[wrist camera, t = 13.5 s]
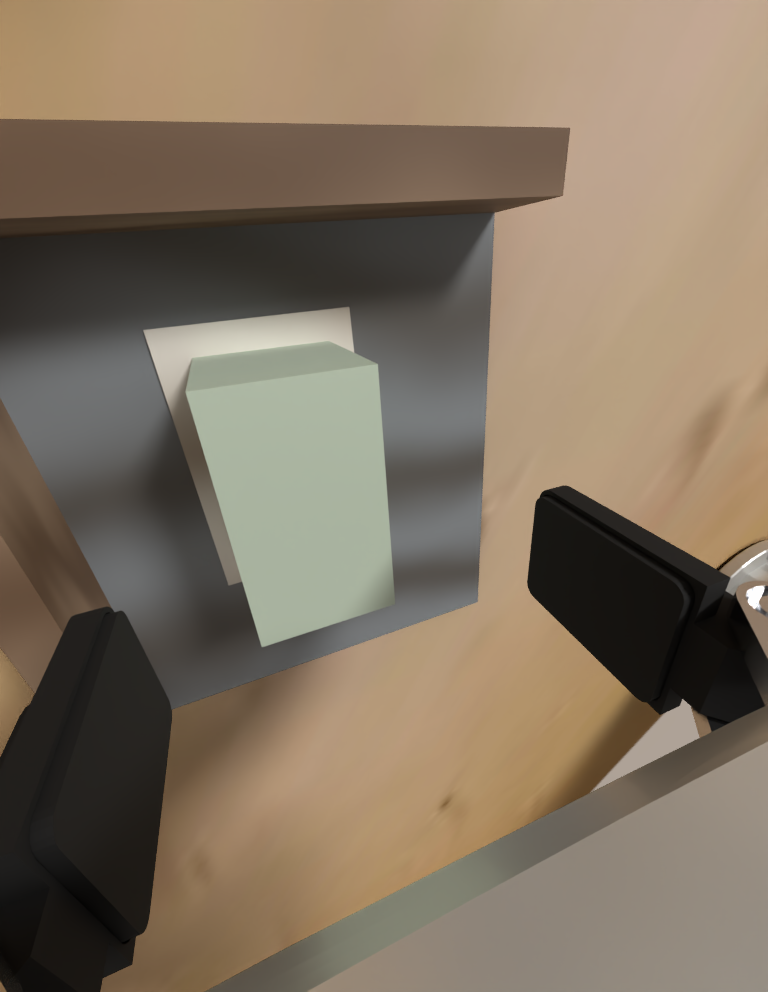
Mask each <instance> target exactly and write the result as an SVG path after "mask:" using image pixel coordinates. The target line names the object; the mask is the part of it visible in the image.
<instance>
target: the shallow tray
mask: <svg viewBox="0 0 768 992" xmlns="http://www.w3.org/2000/svg"><path fill="white" fill-rule="evenodd" d="M569 134H570V128H550V127H485V126H419V125H354V124H289V123H224V122H159V121H94V120H29V119H0V648H1V649H2V651H3V652H4V653H5V655H6V656H7V657H8V659H9V660H10V661H11V663H12V664H13V665H14V667H15V668H16V669H17V671H18V672H19V673H20V674H21V676H22V677H23V678H24V680H25V681H26V682H27V684H28V685H29V686H30V688H31V689H32V690H33V692H34V693H36V690H37V688H38V686H39V684H40V682H41V680H42V677H43V675H44V673H45V671H46V669H47V667H48V664H49V662H50V660H51V658H52V656H53V654H54V651H55V649H56V647H57V645H58V643H59V641H60V638H61V636H62V634H63V632H64V630H65V628H66V625H67V623H68V621H69V619H70V618H71V617H72V616H73V615H76V614H80V613H83V612H87V611H91V610H95V609H99V608H102V607H106V606H107V607H110V608H112V609H113V610H114V612H117V611H123V612H124V613H125V614H126V616H127V617H128V619H129V621H130V623H131V625H132V627H133V629H134V631H135V633H136V635H137V637H138V639H139V641H140V643H141V645H142V647H143V649H144V651H145V653H146V655H147V657H148V659H149V661H150V663H151V665H152V667H153V669H154V671H155V673H156V675H157V677H158V679H159V681H160V683H161V685H162V687H163V689H164V691H165V693H166V695H167V697H168V699H169V701H170V705H171V710H172V709H175V708H178V707H180V706H183V705H186V704H189V703H192V702H195V701H197V700H200V699H203V698H206V697H209V696H212V695H215V694H217V693H220V692H223V691H226V690H229V689H232V688H234V687H237V686H240V685H243V684H246V683H249V682H251V681H254V680H257V679H260V678H263V677H266V676H269V675H271V674H274V673H277V672H280V671H283V670H286V669H288V668H291V667H294V666H297V665H300V664H303V663H305V662H308V661H311V660H314V659H317V658H320V657H323V656H325V655H328V654H331V653H334V652H337V651H340V650H342V649H345V648H348V647H351V646H354V645H357V644H359V643H362V642H365V641H368V640H371V639H374V638H377V637H379V636H382V635H385V634H388V633H391V632H394V631H396V630H399V629H402V628H405V627H408V626H411V625H413V624H416V623H419V622H422V621H425V620H428V619H431V618H433V617H436V616H439V615H442V614H445V613H448V612H450V611H453V610H456V609H459V608H462V607H465V606H467V605H470V604H473V603H476V602H478V580H479V557H480V534H481V512H482V489H483V466H484V443H485V420H486V397H487V374H488V351H489V328H490V305H491V282H492V259H493V236H494V213H495V212H499V211H503V210H507V209H511V208H515V207H519V206H523V205H527V204H531V203H535V202H540V201H544V200H548V199H552V198H556V197H560V196H563V189H564V180H565V171H566V161H567V152H568V143H569ZM324 341H330V342H332V343H334V344H337V345H339V346H341V347H343V348H345V349H347V350H349V351H351V352H353V353H356V354H358V355H360V356H362V357H364V358H366V359H368V360H370V361H372V362H375V363H377V364H378V373H379V387H380V401H381V415H382V428H383V442H384V456H385V470H386V484H387V497H388V511H389V525H390V539H391V552H392V566H393V580H394V594H395V604H394V605H391V606H388V607H385V608H382V609H379V610H376V611H372V612H369V613H366V614H363V615H360V616H357V617H354V618H351V619H348V620H345V621H342V622H339V623H335V624H332V625H329V626H326V627H323V628H320V629H317V630H314V631H311V632H308V633H305V634H302V635H298V636H295V637H292V638H289V639H286V640H283V641H280V642H277V643H274V644H271V645H268V646H265V647H262V646H261V643H260V640H259V636H258V633H257V629H256V626H255V623H254V619H253V616H252V613H251V609H250V606H249V603H248V599H247V596H246V593H245V589H244V586H243V583H242V579H241V576H240V573H239V569H238V566H237V563H236V559H235V556H234V553H233V549H232V546H231V543H230V539H229V536H228V532H227V529H226V526H225V522H224V519H223V516H222V512H221V509H220V506H219V502H218V499H217V496H216V492H215V489H214V486H213V482H212V479H211V476H210V472H209V469H208V466H207V462H206V459H205V456H204V452H203V449H202V446H201V442H200V439H199V436H198V432H197V429H196V425H195V422H194V419H193V415H192V412H191V409H190V405H189V402H188V399H187V395H186V387H187V382H188V377H189V372H190V367H191V363H192V358H195V357H203V356H211V355H219V354H227V353H235V352H243V351H252V350H260V349H268V348H276V347H284V346H292V345H300V344H308V343H316V342H324Z"/></svg>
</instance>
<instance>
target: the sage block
mask: <svg viewBox="0 0 768 992" xmlns="http://www.w3.org/2000/svg"><path fill="white" fill-rule="evenodd" d="M186 395H187V399H188V402H189V405H190V409H191V412H192V415H193V419H194V422H195V425H196V429H197V432H198V436H199V439H200V442H201V446H202V449H203V452H204V456H205V459H206V462H207V466H208V469H209V472H210V476H211V479H212V482H213V486H214V489H215V492H216V496H217V499H218V502H219V506H220V509H221V512H222V516H223V519H224V522H225V526H226V529H227V532H228V536H229V539H230V543H231V546H232V549H233V553H234V556H235V559H236V563H237V566H238V569H239V573H240V576H241V579H242V583H243V586H244V589H245V593H246V596H247V599H248V603H249V606H250V609H251V613H252V616H253V619H254V623H255V626H256V629H257V633H258V636H259V640H260V643H261V646H262V647H265V646H268V645H271V644H274V643H277V642H280V641H283V640H286V639H289V638H292V637H295V636H298V635H302V634H305V633H308V632H311V631H314V630H317V629H320V628H323V627H326V626H329V625H332V624H335V623H339V622H342V621H345V620H348V619H351V618H354V617H357V616H360V615H363V614H366V613H369V612H372V611H376V610H379V609H382V608H385V607H388V606H391V605H394V604H395V594H394V580H393V566H392V552H391V539H390V525H389V511H388V497H387V484H386V470H385V456H384V442H383V428H382V415H381V401H380V387H379V373H378V364H377V363H375V362H372V361H370V360H368V359H366V358H364V357H362V356H360V355H358V354H356V353H353V352H351V351H349V350H347V349H345V348H343V347H341V346H339V345H337V344H334V343H332V342H330V341H324V342H316V343H308V344H300V345H292V346H284V347H276V348H268V349H260V350H252V351H243V352H235V353H227V354H219V355H211V356H203V357H195V358H192V363H191V367H190V372H189V377H188V382H187V387H186Z"/></svg>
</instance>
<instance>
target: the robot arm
mask: <svg viewBox="0 0 768 992" xmlns="http://www.w3.org/2000/svg"><path fill="white" fill-rule="evenodd" d="M527 584H528V588H529V591H530V593H531V594H532V596H533V597H534V598H535V599H536V600H537V601H538V602H539V603H540V604H541V605H542V606H543V607H544V608H545V609H546V610H547V611H548V612H550V613H551V614H552V615H553V616H554V617H555V618H556V619H557V620H558V621H559V622H560V623H561V624H562V625H563V626H564V627H565V628H566V629H567V630H568V631H569V632H570V633H571V634H572V635H573V636H574V637H575V638H576V639H577V640H578V641H579V642H580V643H581V644H582V645H583V646H584V647H585V648H586V649H587V650H588V651H589V652H590V653H591V654H592V655H593V656H594V657H595V658H596V659H597V660H598V661H599V662H600V663H601V664H602V665H603V666H604V667H606V668H607V669H608V670H609V671H610V672H611V673H612V674H613V675H614V676H615V677H616V678H617V679H618V680H619V681H620V682H621V683H622V684H623V685H624V686H625V687H626V688H627V689H628V690H629V691H630V692H631V693H632V694H633V695H634V696H635V697H636V698H638V699H639V700H641V701H642V702H647V703H648V704H649V705H650V706H651V707H652V708H653V709H654V710H655V711H656V712H657V713H659V714H660V715H661V714H663V713H665V712H667V711H670V710H672V709H674V708H676V707H678V706H680V703H681V701H682V699H684V700H685V701H686V702H687V703H688V704H689V705H690V706H691V709H692V712H693V716H694V719H695V723H696V726H697V730H698V733H699V737H700V738H699V739H697V740H695V741H693V742H691V743H689V744H687V745H685V746H683V747H681V748H679V749H677V750H675V751H673V752H671V753H669V754H667V755H665V756H663V757H661V758H659V759H657V760H655V761H653V762H651V763H649V764H647V765H645V766H643V767H641V768H639V769H637V770H635V771H633V772H631V773H629V774H627V775H625V776H623V777H621V778H619V779H617V780H615V781H613V782H611V783H609V784H607V785H605V786H603V787H601V788H599V789H597V790H595V791H593V792H591V793H589V794H587V795H585V796H583V797H581V798H579V799H577V800H575V801H573V802H571V803H569V804H567V805H565V806H563V807H561V808H559V809H557V810H556V811H554V812H552V813H550V814H548V815H546V816H544V817H542V818H540V819H538V820H536V821H534V822H532V823H530V824H528V825H526V826H524V827H522V828H520V829H518V830H516V831H514V832H512V833H510V834H508V835H506V836H504V837H502V838H500V839H498V840H496V841H494V842H492V843H490V844H489V845H487V846H485V847H483V848H481V849H479V850H477V851H475V852H473V853H471V854H469V855H467V856H465V857H463V858H461V859H459V860H457V861H455V862H453V863H451V864H449V865H447V866H445V867H443V868H441V869H439V870H438V871H436V872H434V873H432V874H430V875H428V876H426V877H424V878H422V879H420V880H418V881H416V882H414V883H412V884H410V885H408V886H406V887H404V888H402V889H401V890H399V891H397V892H395V893H393V894H391V895H389V896H387V897H385V898H383V899H381V900H379V901H377V902H375V903H373V904H371V905H369V906H367V907H365V908H364V909H362V910H360V911H358V912H356V913H354V914H352V915H350V916H348V917H346V918H344V919H342V920H340V921H338V922H336V923H334V924H332V925H330V926H328V927H327V928H325V929H323V930H321V931H319V932H317V933H315V934H313V935H311V936H309V937H307V938H305V939H303V940H301V941H299V942H297V943H295V944H293V945H291V946H290V947H288V948H286V949H284V950H282V951H280V952H278V953H276V954H274V955H272V956H270V957H269V958H267V959H265V960H263V961H261V962H259V963H257V964H255V965H254V966H252V967H250V968H248V969H246V970H244V971H242V972H241V973H239V974H237V975H235V976H233V977H231V978H229V979H228V980H226V981H224V982H222V983H220V984H218V985H216V986H214V987H213V988H211V989H209V990H207V991H205V992H768V539H767V540H764V541H761V542H759V543H756V544H754V545H753V546H751V547H749V548H747V549H745V550H744V551H742V552H741V553H740V554H738V555H737V556H735V557H734V558H733V559H732V560H730V561H729V562H728V563H727V564H726V565H724V566H723V567H722V568H721V569H720V570H719V571H718V570H716V569H715V568H713V567H711V566H709V565H708V564H706V563H704V562H702V561H700V560H699V559H697V558H695V557H693V556H692V555H690V554H688V553H686V552H684V551H683V550H681V549H679V548H677V547H676V546H674V545H672V544H670V543H669V542H667V541H665V540H663V539H661V538H660V537H658V536H656V535H654V534H653V533H651V532H649V531H647V530H645V529H644V528H642V527H640V526H638V525H637V524H635V523H633V522H631V521H630V520H628V519H626V518H624V517H622V516H621V515H619V514H617V513H615V512H614V511H612V510H610V509H608V508H607V507H605V506H603V505H601V504H599V503H598V502H596V501H594V500H592V499H591V498H589V497H587V496H585V495H583V494H582V493H580V492H578V491H576V490H575V489H573V488H571V487H569V486H560V487H556V488H553V489H549V490H545V491H543V492H542V493H541V495H540V498H539V499H537V501H536V505H535V514H534V524H533V533H532V543H531V552H530V562H529V571H528V581H527ZM171 722H172V710H171V705H170V701H169V699H168V697H167V695H166V693H165V691H164V689H163V687H162V685H161V683H160V681H159V679H158V677H157V675H156V673H155V671H154V669H153V667H152V665H151V663H150V661H149V659H148V657H147V655H146V653H145V651H144V649H143V647H142V645H141V643H140V641H139V639H138V637H137V635H136V633H135V631H134V629H133V627H132V625H131V623H130V621H129V619H128V617H127V616H126V614H125V613H124V612H123V611H117V612H114V610H113V609H112V608H110V607H107V606H106V607H102V608H99V609H95V610H91V611H87V612H83V613H80V614H76V615H73V616H72V617H71V618H70V619H69V621H68V623H67V625H66V628H65V630H64V632H63V634H62V636H61V638H60V641H59V643H58V645H57V647H56V649H55V651H54V654H53V656H52V658H51V660H50V662H49V664H48V667H47V669H46V671H45V673H44V675H43V677H42V680H41V682H40V684H39V686H38V688H37V690H36V693H35V695H34V697H33V699H32V701H31V703H30V704H29V705H28V706H27V707H26V708H25V709H24V711H23V712H22V714H21V715H20V717H19V719H18V721H17V723H16V725H15V727H14V730H13V732H12V734H11V736H10V738H9V740H8V742H7V744H6V747H5V749H4V751H3V753H2V755H1V757H0V992H100V990H101V985H102V979H103V978H104V977H106V976H109V975H111V974H113V973H115V972H117V971H119V970H121V969H123V968H125V967H128V966H130V965H132V962H133V954H134V946H135V939H136V936H138V935H140V934H142V933H143V932H144V931H145V929H146V927H147V924H148V920H149V914H150V906H151V897H152V888H153V879H154V871H155V862H156V853H157V844H158V836H159V827H160V818H161V810H162V801H163V792H164V783H165V775H166V766H167V757H168V748H169V740H170V731H171Z"/></svg>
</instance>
